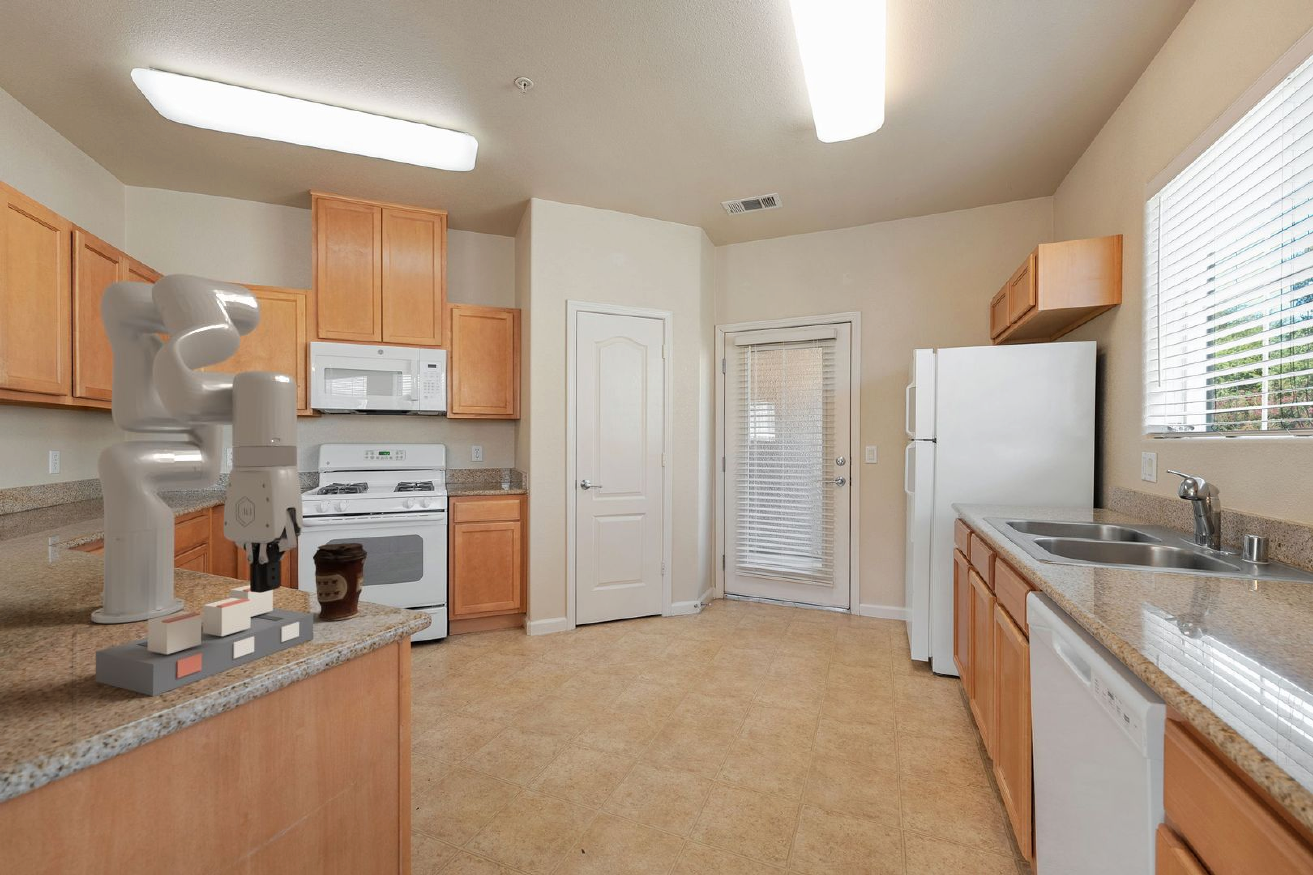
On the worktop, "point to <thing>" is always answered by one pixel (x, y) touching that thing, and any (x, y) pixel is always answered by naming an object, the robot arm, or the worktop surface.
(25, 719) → the worktop surface
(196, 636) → the white box
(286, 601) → the worktop surface
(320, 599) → the coffee cup
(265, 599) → the white red-striped block
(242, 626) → the white red-striped block
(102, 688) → the worktop surface
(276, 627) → the console
